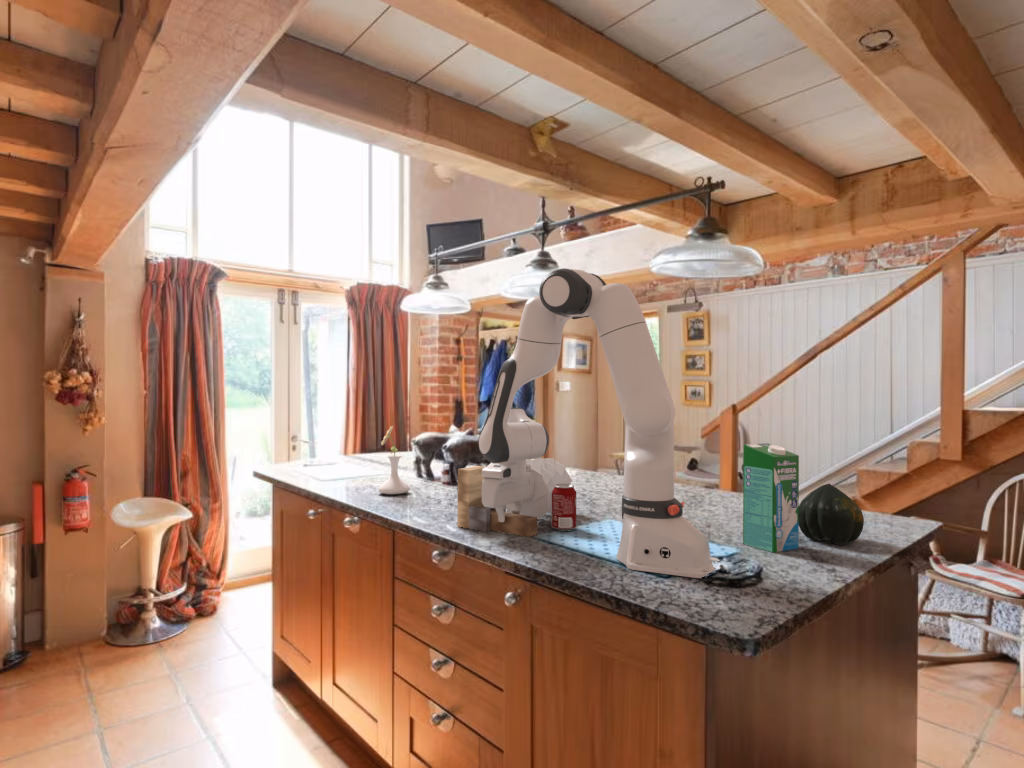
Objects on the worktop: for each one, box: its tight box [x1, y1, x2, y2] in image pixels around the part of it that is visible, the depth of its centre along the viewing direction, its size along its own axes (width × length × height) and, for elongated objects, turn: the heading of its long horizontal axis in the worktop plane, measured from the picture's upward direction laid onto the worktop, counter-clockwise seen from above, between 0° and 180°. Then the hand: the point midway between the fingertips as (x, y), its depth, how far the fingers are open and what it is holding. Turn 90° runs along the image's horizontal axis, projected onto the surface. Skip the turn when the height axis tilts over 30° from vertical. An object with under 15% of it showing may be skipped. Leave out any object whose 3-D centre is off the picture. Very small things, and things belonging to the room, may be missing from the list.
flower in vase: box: [377, 425, 411, 496], centre depth 212 cm, size 13×11×25 cm
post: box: [456, 465, 507, 532], centre depth 163 cm, size 10×9×16 cm
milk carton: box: [742, 442, 800, 554], centre depth 144 cm, size 9×9×25 cm
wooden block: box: [483, 507, 539, 538], centre depth 158 cm, size 16×4×6 cm, turn 55°
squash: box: [799, 483, 865, 546], centre depth 151 cm, size 14×15×15 cm
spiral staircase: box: [506, 457, 573, 520], centre depth 177 cm, size 18×18×25 cm
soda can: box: [551, 484, 577, 532], centre depth 161 cm, size 7×7×12 cm
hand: (509, 519), depth 158 cm, fingers open, 5 cm apart
